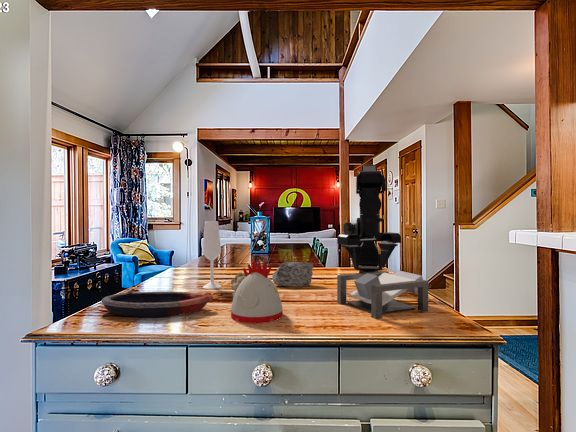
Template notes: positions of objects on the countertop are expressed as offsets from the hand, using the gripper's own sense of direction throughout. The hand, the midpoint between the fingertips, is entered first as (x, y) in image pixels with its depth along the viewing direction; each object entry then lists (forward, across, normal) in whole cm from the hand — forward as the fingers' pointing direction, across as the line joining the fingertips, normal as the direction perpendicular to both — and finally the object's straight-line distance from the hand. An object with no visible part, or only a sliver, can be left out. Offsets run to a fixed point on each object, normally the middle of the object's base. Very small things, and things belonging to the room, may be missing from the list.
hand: (369, 268), depth 113 cm
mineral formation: (+12, +27, -29) cm, 41 cm away
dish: (+12, +56, -23) cm, 62 cm away
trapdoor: (+10, -8, 0) cm, 13 cm away
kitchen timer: (+12, +32, -7) cm, 35 cm away
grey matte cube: (+7, -1, 0) cm, 7 cm away
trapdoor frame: (+12, -4, 0) cm, 12 cm away
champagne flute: (+12, +34, -49) cm, 61 cm away
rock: (+12, +6, -39) cm, 41 cm away
